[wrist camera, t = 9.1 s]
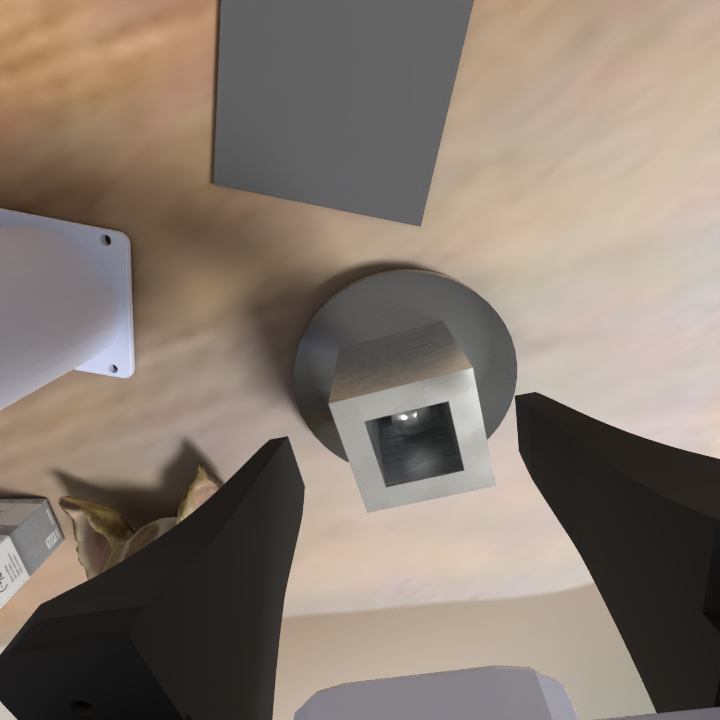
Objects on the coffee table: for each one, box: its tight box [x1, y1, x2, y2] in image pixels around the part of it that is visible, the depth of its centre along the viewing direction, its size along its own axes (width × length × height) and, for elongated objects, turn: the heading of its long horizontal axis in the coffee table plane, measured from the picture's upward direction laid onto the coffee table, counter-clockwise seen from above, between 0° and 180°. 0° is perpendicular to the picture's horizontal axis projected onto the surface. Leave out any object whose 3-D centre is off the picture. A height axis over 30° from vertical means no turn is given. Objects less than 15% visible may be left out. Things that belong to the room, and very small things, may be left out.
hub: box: [294, 269, 517, 462], centre depth 20 cm, size 12×12×5 cm
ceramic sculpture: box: [58, 464, 224, 580], centre depth 24 cm, size 11×9×15 cm
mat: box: [213, 0, 474, 226], centre depth 17 cm, size 10×10×1 cm
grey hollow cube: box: [328, 321, 496, 513], centre depth 18 cm, size 6×6×6 cm
